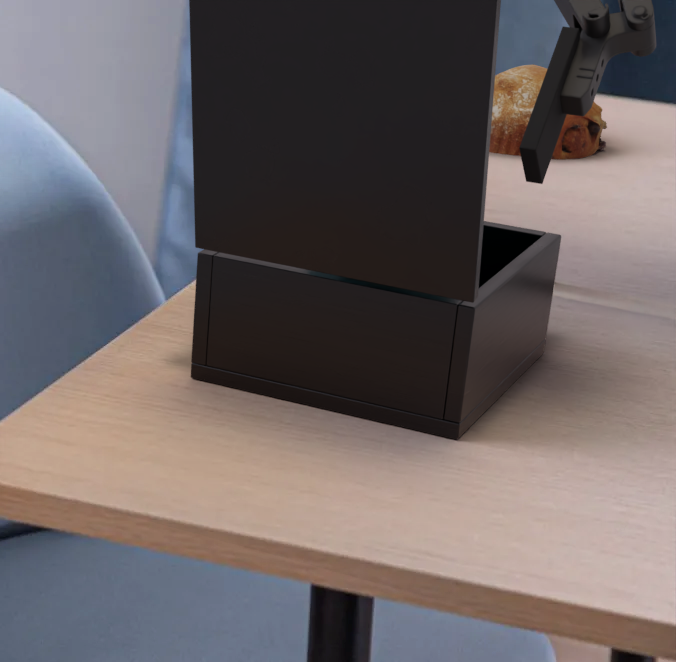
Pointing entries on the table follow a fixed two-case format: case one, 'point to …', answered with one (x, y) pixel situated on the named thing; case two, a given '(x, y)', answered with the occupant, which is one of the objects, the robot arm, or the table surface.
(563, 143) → the bread roll
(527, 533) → the table surface
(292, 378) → the chest
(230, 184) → the chest lid
